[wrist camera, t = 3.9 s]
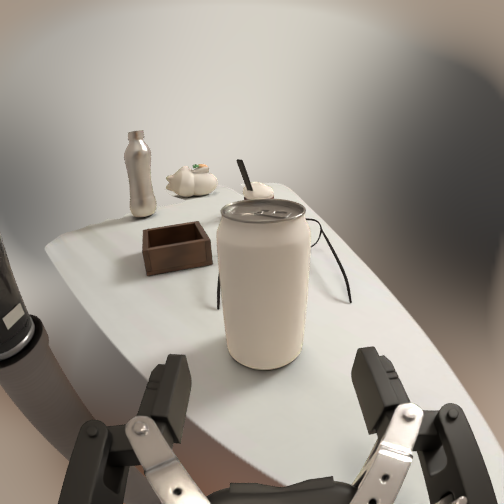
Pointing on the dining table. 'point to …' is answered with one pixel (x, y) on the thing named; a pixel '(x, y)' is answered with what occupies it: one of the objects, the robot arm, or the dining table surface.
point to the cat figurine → (192, 181)
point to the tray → (176, 248)
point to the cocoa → (254, 186)
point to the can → (264, 280)
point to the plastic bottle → (139, 175)
